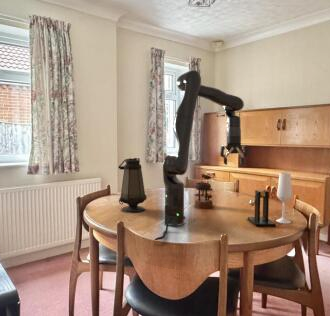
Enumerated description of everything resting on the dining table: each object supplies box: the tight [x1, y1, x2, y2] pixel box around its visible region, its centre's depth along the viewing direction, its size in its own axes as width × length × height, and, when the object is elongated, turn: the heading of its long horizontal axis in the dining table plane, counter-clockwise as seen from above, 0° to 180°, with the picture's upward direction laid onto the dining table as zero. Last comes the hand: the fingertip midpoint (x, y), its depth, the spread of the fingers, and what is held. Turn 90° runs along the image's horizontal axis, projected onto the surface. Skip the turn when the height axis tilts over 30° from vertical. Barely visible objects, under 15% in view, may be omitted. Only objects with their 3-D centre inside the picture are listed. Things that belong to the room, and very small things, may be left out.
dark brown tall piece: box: [193, 173, 214, 210], centre depth 176 cm, size 15×11×20 cm
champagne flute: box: [275, 172, 293, 224], centre depth 145 cm, size 7×7×24 cm
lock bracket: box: [247, 189, 277, 228], centre depth 143 cm, size 12×9×16 cm
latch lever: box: [248, 190, 265, 207], centre depth 149 cm, size 17×3×3 cm, turn 179°
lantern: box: [118, 157, 147, 214], centre depth 170 cm, size 18×15×30 cm
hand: (233, 164), depth 163 cm, fingers open, 8 cm apart
